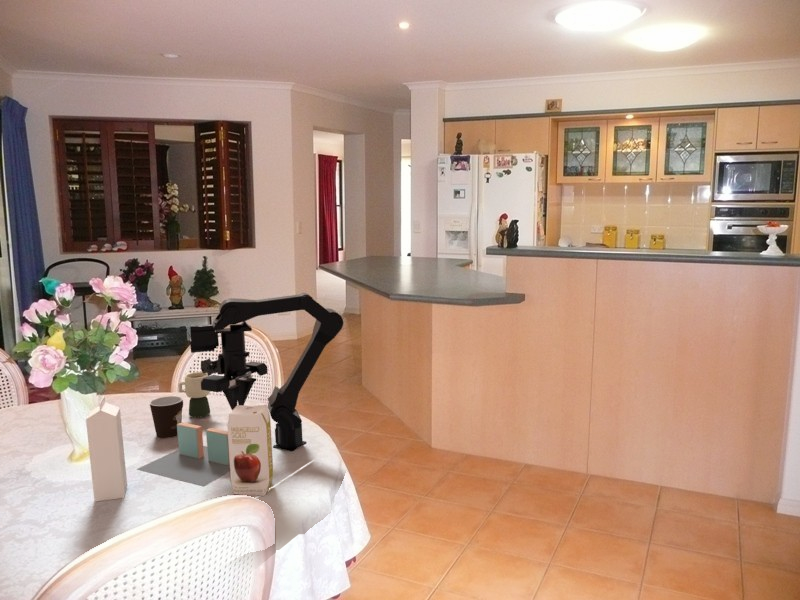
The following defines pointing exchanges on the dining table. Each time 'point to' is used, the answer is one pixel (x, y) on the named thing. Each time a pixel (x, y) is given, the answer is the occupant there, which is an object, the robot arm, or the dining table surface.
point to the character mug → (196, 394)
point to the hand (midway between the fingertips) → (237, 408)
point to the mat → (187, 468)
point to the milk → (106, 452)
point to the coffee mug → (166, 415)
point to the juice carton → (250, 449)
